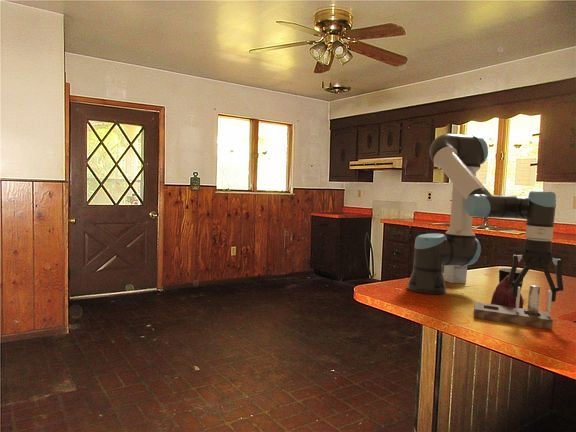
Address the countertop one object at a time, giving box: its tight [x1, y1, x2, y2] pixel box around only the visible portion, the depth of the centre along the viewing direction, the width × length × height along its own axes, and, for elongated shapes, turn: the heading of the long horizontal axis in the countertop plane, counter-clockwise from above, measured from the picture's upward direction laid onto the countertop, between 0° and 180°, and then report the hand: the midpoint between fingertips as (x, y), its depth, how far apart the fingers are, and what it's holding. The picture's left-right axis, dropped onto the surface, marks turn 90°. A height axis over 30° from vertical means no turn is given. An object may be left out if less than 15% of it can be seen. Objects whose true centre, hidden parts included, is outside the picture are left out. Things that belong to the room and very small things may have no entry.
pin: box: [527, 284, 541, 316], centre depth 135 cm, size 3×3×12 cm
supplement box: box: [443, 265, 468, 284], centre depth 193 cm, size 7×7×13 cm
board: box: [473, 301, 554, 331], centre depth 138 cm, size 22×10×3 cm, turn 67°
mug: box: [498, 267, 524, 292], centre depth 174 cm, size 12×9×10 cm
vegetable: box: [490, 273, 524, 309], centre depth 149 cm, size 10×10×15 cm
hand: (532, 308), depth 136 cm, fingers open, 8 cm apart
